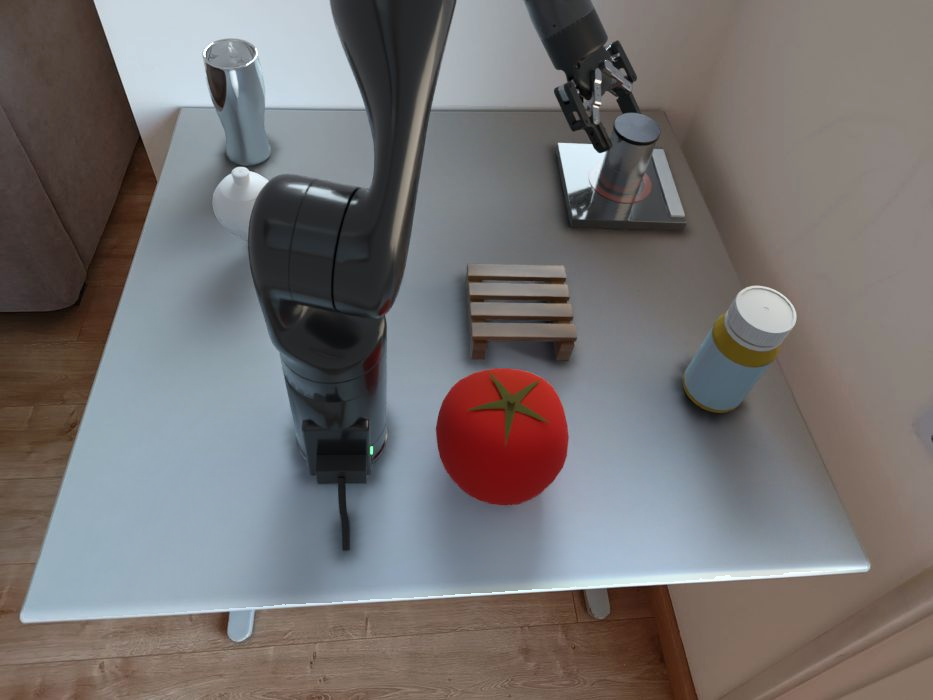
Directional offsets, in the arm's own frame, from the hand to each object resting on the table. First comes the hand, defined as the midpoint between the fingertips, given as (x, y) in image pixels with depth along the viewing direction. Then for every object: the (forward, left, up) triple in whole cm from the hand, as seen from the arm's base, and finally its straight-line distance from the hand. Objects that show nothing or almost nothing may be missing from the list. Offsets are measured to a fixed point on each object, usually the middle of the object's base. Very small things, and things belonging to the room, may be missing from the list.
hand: (620, 135), depth 96 cm
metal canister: (-1, -1, -7) cm, 7 cm away
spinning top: (-14, +47, -9) cm, 50 cm away
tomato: (-44, +19, -9) cm, 49 cm away
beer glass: (+4, +50, -9) cm, 51 cm away
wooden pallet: (-25, +15, -8) cm, 31 cm away
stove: (-1, -2, -8) cm, 9 cm away
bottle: (-35, -7, -9) cm, 37 cm away
